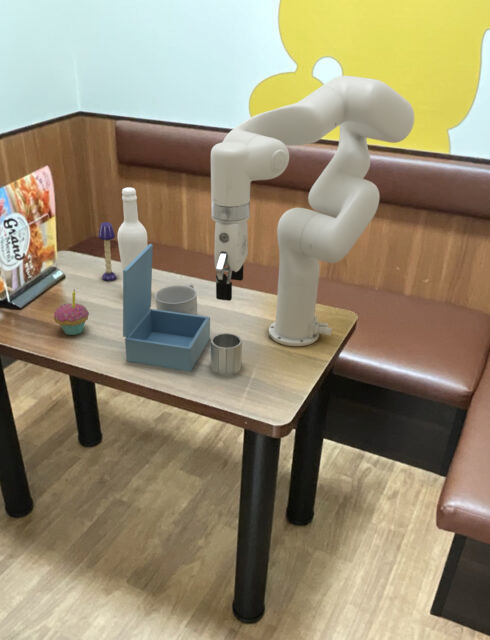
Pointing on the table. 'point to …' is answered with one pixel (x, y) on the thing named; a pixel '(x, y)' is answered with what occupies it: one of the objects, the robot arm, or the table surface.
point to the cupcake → (71, 317)
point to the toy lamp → (107, 249)
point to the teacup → (177, 299)
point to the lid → (137, 289)
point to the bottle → (130, 230)
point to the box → (168, 339)
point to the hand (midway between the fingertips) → (230, 289)
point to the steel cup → (226, 353)
